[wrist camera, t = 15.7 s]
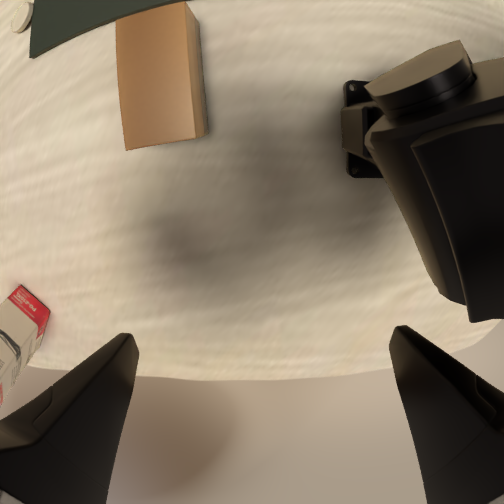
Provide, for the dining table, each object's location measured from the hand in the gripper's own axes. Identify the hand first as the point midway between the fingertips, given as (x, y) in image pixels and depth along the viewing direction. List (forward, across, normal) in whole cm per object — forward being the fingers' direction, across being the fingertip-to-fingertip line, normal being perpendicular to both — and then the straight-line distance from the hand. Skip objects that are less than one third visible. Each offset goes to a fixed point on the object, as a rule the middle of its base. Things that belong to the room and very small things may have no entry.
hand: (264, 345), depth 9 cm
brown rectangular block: (+12, +5, -10) cm, 16 cm away
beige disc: (+12, +19, -20) cm, 30 cm away
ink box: (+12, +26, +10) cm, 31 cm away
